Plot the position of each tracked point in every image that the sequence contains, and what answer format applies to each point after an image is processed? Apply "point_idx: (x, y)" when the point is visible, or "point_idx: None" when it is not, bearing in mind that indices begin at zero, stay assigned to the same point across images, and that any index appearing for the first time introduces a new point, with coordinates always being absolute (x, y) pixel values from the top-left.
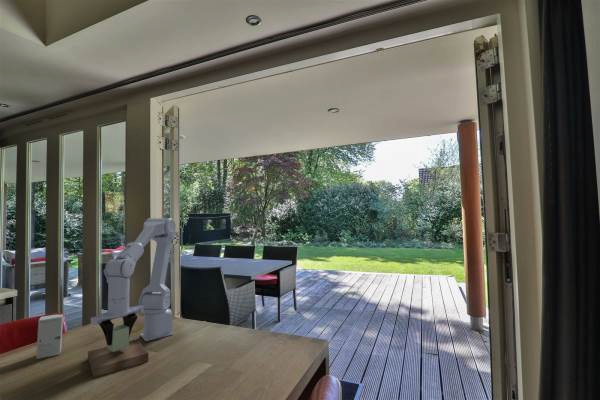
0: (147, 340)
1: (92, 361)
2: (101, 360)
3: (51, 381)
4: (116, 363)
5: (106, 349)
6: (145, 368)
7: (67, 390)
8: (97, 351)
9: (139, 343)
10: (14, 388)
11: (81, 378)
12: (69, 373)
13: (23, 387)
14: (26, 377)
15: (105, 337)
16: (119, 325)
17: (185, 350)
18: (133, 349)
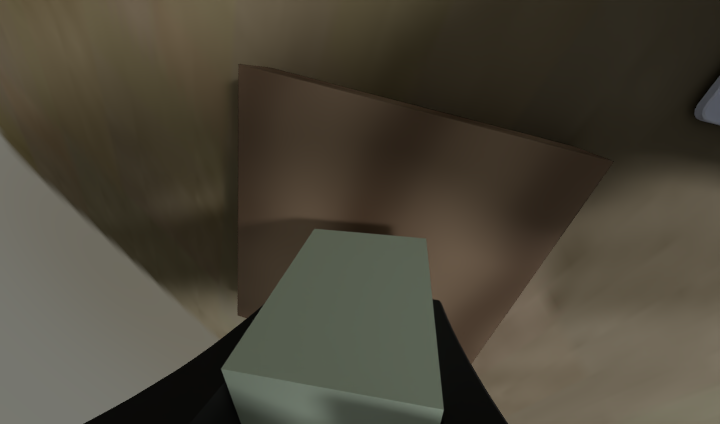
0: (707, 121)
1: (241, 252)
2: (277, 277)
3: (129, 182)
4: None
5: (343, 155)
6: None
7: (186, 291)
8: (289, 133)
9: (533, 259)
10: (9, 115)
11: (224, 256)
12: (185, 170)
13: (41, 138)
14: (6, 20)
15: (250, 319)
16: (380, 413)
17: (615, 399)
18: (445, 301)
